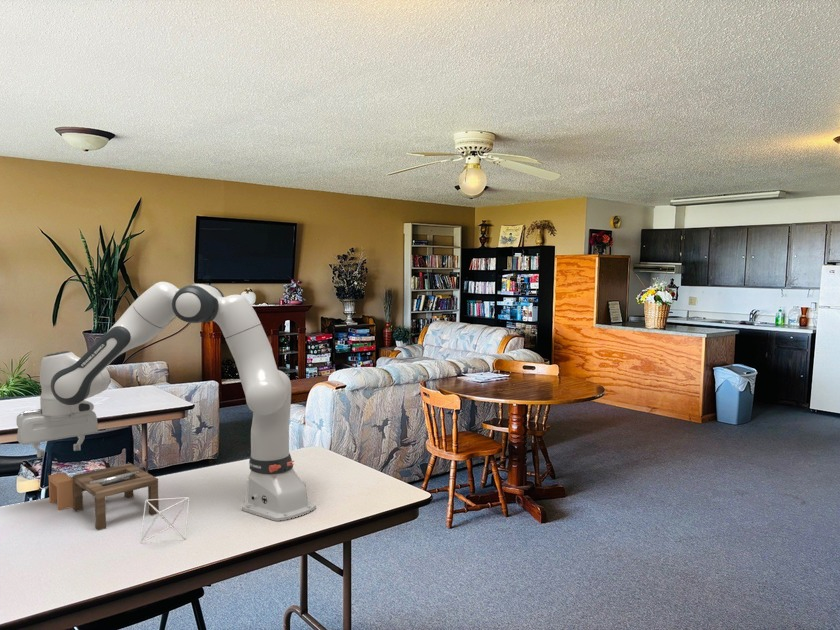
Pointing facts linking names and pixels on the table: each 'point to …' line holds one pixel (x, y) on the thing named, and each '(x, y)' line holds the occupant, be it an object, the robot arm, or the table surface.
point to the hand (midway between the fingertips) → (59, 453)
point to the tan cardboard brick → (61, 490)
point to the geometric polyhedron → (164, 519)
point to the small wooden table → (113, 489)
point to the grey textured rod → (115, 478)
